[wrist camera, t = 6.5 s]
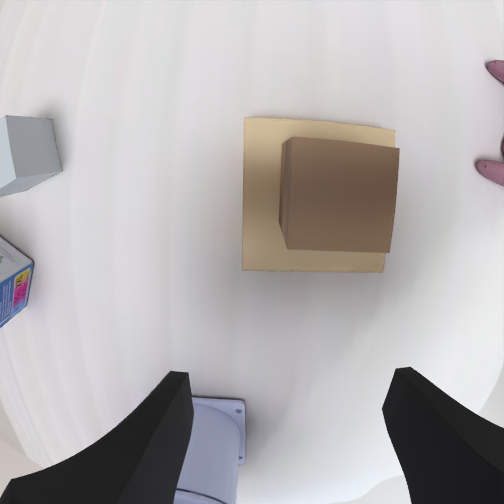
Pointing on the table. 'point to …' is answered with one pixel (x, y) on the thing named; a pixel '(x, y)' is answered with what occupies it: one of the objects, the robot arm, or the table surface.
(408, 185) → the table surface
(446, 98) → the table surface
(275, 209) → the oak slab
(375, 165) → the walnut block
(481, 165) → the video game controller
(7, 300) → the ink cartridge box
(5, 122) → the grey block
